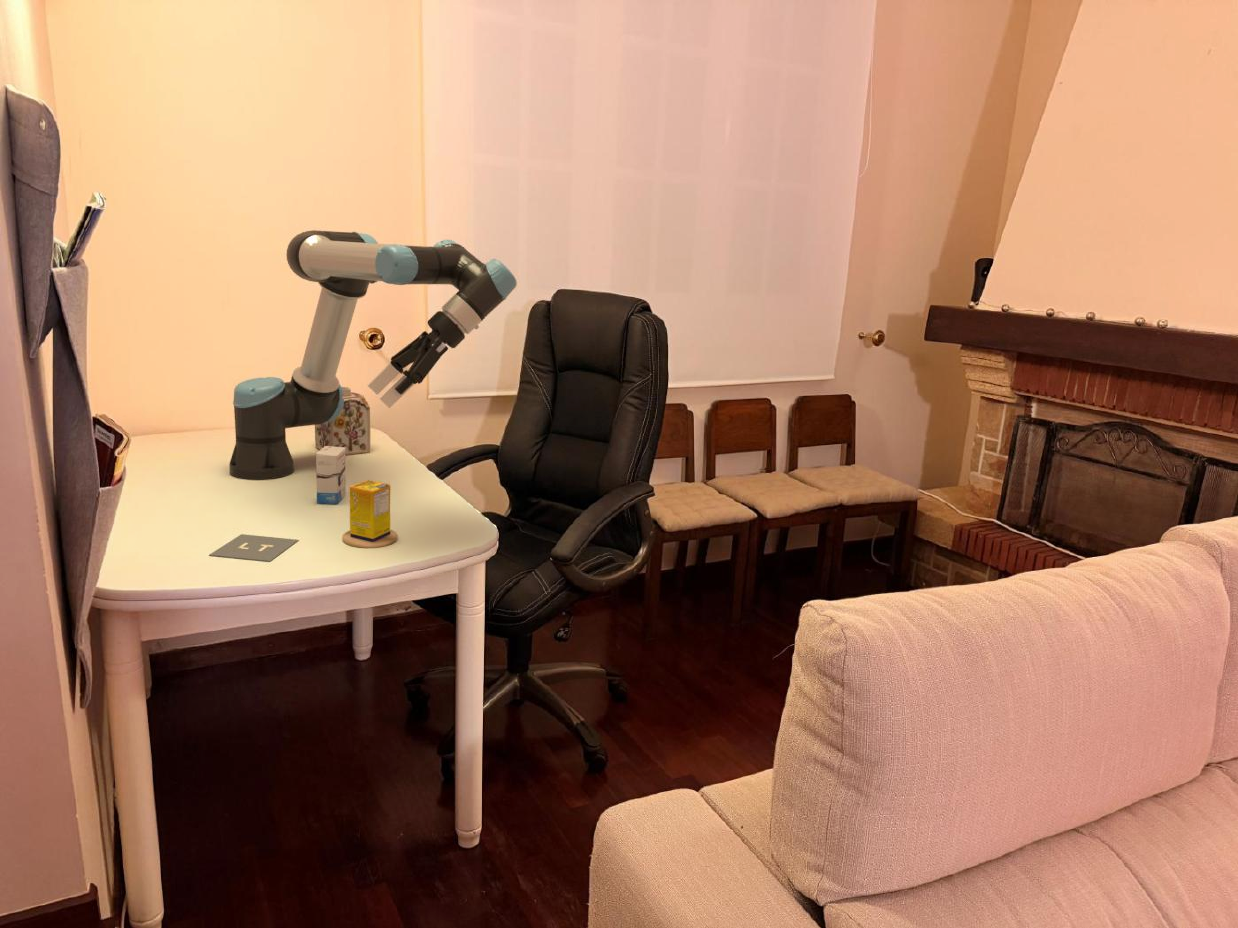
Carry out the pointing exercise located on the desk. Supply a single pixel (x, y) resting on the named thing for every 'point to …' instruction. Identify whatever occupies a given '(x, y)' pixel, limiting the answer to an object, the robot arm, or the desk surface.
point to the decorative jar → (347, 426)
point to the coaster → (367, 544)
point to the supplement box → (369, 510)
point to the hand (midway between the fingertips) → (377, 396)
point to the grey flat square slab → (254, 548)
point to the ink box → (330, 475)
